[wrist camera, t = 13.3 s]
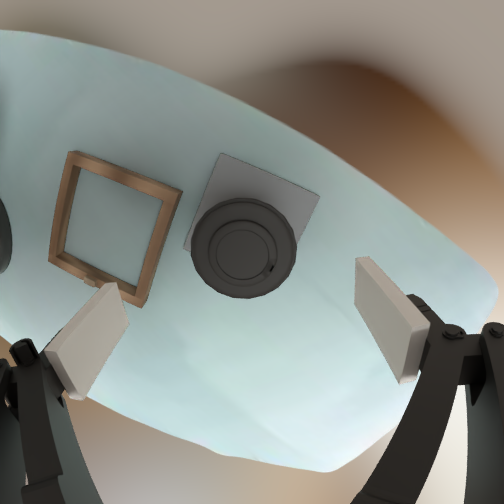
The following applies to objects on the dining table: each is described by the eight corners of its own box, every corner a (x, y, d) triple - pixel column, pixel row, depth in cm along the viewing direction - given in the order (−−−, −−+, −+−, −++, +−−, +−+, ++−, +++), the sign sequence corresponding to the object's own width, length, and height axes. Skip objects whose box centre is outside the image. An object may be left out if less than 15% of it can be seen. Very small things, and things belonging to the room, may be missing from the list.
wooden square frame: (56, 255, 34) (45, 262, 31) (77, 150, 29) (65, 151, 27) (146, 300, 35) (139, 311, 33) (183, 191, 31) (176, 195, 28)
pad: (184, 246, 33) (183, 248, 32) (221, 152, 29) (220, 152, 28) (275, 283, 34) (275, 286, 33) (318, 195, 30) (320, 196, 30)
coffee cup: (289, 256, 32) (301, 301, 22) (214, 263, 32) (197, 309, 23) (283, 180, 29) (295, 194, 20) (203, 189, 30) (178, 207, 20)
